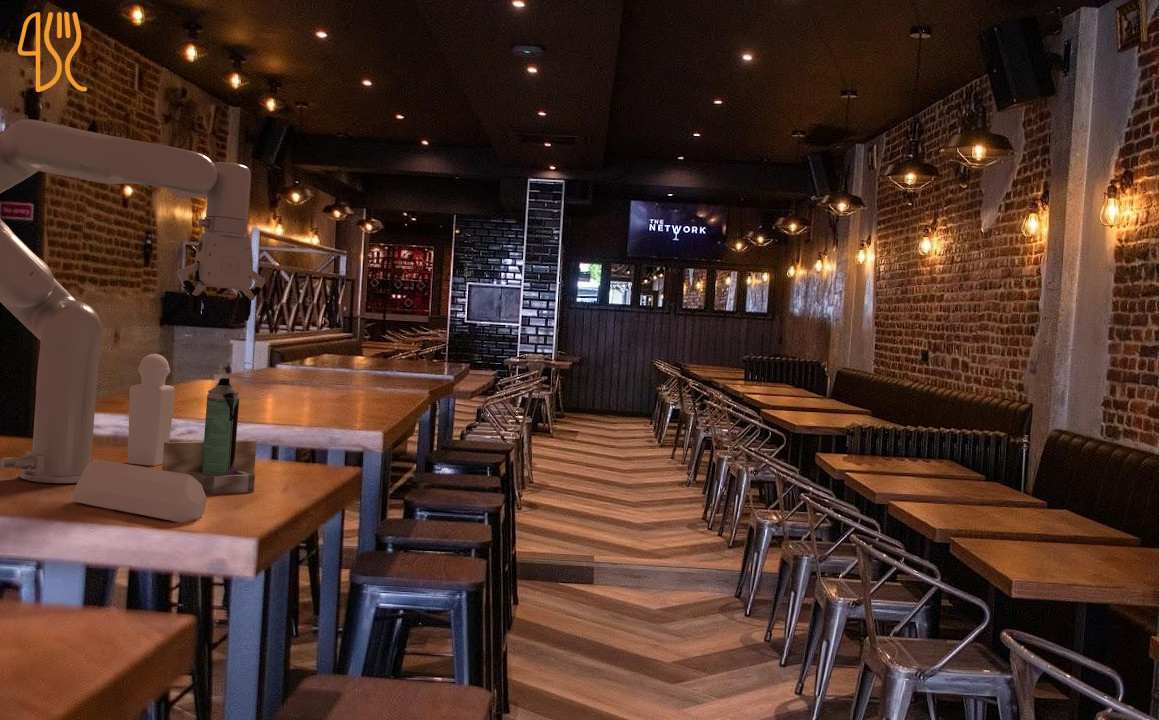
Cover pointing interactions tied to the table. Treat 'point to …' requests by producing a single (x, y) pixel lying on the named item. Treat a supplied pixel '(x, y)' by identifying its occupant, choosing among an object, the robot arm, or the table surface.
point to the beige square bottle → (150, 412)
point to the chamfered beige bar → (141, 491)
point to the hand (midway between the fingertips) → (219, 318)
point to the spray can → (220, 429)
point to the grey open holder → (190, 462)
